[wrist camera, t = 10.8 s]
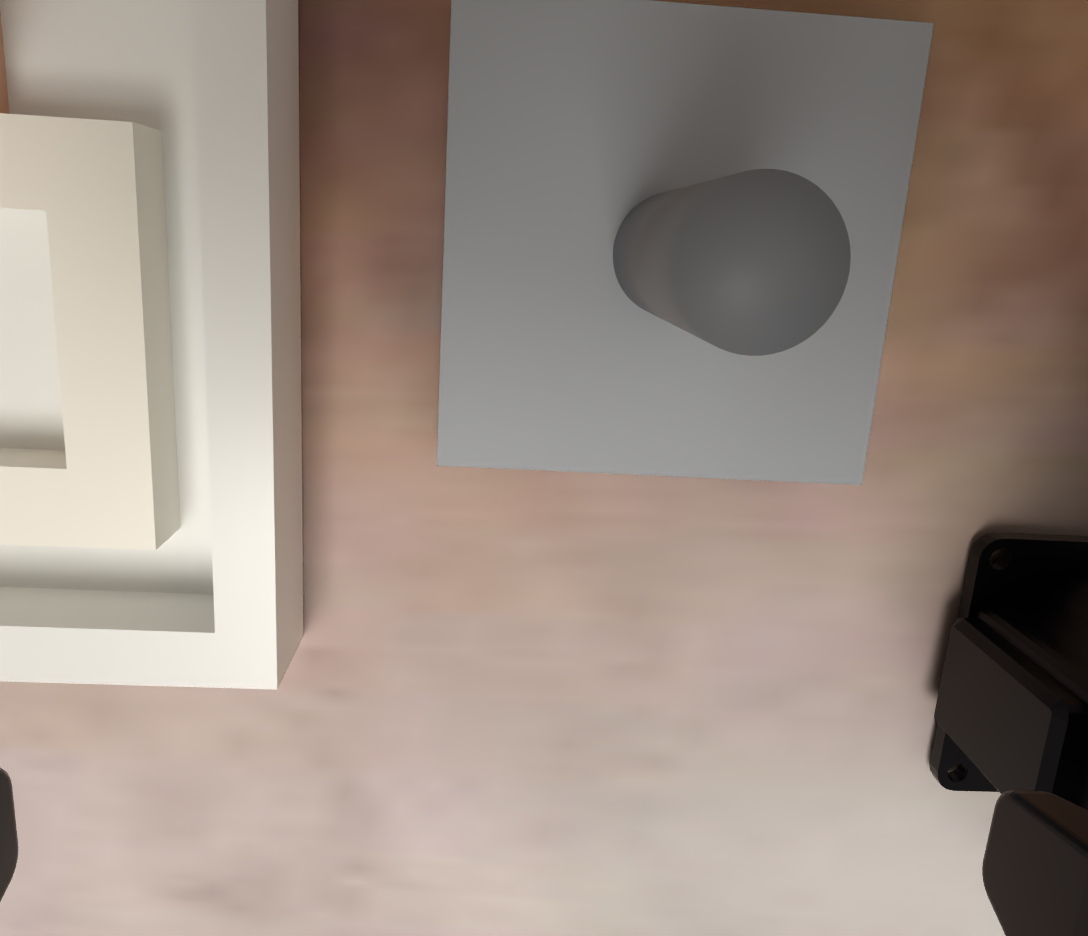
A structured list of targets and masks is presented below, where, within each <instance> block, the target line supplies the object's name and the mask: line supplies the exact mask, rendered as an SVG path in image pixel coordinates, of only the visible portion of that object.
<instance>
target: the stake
mask: <svg viewBox="0 0 1088 936" xmlns="http://www.w3.org/2000/svg"><path fill="white" fill-rule="evenodd" d="M933 27H934V23H927V22H915V21H902V20H890V19H877V18H865V17H852V16H840V15H827V14H815V13H802V12H790V11H778V10H765V9H753V8H740V7H728V6H715V5H703V4H690V3H678V2H665V1H653V0H451V28H450V60H449V92H448V124H447V156H446V189H445V221H444V253H443V285H442V317H441V349H440V381H439V413H438V445H437V466H458V467H480V468H502V469H523V470H545V471H567V472H589V473H611V474H632V475H654V476H676V477H698V478H720V479H741V480H763V481H785V482H807V483H829V484H850V485H862V481H863V474H864V468H865V461H866V455H867V449H868V442H869V436H870V430H871V423H872V417H873V410H874V404H875V398H876V391H877V385H878V378H879V372H880V366H881V359H882V353H883V346H884V340H885V334H886V327H887V321H888V314H889V308H890V302H891V295H892V289H893V282H894V276H895V270H896V263H897V257H898V250H899V244H900V238H901V231H902V225H903V218H904V212H905V206H906V199H907V193H908V187H909V180H910V174H911V167H912V161H913V155H914V148H915V142H916V135H917V129H918V123H919V116H920V110H921V103H922V97H923V91H924V84H925V78H926V71H927V65H928V59H929V52H930V46H931V39H932V33H933Z"/></svg>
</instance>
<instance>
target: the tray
mask: <svg viewBox="0 0 1088 936" xmlns="http://www.w3.org/2000/svg"><path fill="white" fill-rule="evenodd" d="M0 11H1V23H2V34H3V46H4V57H5V68H6V80H7V91H8V102H9V114H20V115H35V116H50V117H65V118H80V119H96V120H111V121H126V122H134V123H137V124H141V125H144V126H147V127H150V128H153V129H157V130H160V131H162V151H163V172H164V193H165V214H166V235H167V256H168V277H169V298H170V319H171V340H172V361H173V382H174V403H175V424H176V445H177V466H178V487H179V508H180V529H179V530H178V531H176V532H175V533H174V534H173V535H172V536H171V537H170V538H169V539H168V540H167V541H166V542H164V543H163V544H162V545H161V546H160V547H159V548H158V549H157V550H134V549H107V548H80V547H52V546H25V545H0V681H9V682H43V683H77V684H111V685H144V686H178V687H212V688H246V689H278V687H279V685H280V683H281V681H282V679H283V677H284V674H285V672H286V670H287V668H288V666H289V664H290V662H291V660H292V658H293V656H294V654H295V652H296V650H297V648H298V646H299V644H300V642H301V640H302V638H303V521H302V401H301V281H300V160H299V40H298V0H0ZM0 448H19V449H42V450H65V441H64V428H63V416H62V403H61V391H60V378H59V366H58V353H57V341H56V328H55V316H54V303H53V291H52V278H51V266H50V253H49V241H48V228H47V216H46V211H42V210H25V209H8V208H0Z"/></svg>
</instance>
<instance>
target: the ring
mask: <svg viewBox="0 0 1088 936" xmlns="http://www.w3.org/2000/svg"><path fill="white" fill-rule="evenodd" d="M0 208H8V209H25V210H42V211H46V216H47V228H48V241H49V253H50V266H51V278H52V291H53V303H54V316H55V328H56V341H57V353H58V366H59V378H60V391H61V403H62V416H63V428H64V441H65V450H42V449H19V448H0V545H25V546H52V547H80V548H107V549H134V550H157V549H158V548H159V547H160V546H161V545H162V544H163V543H164V542H166V541H167V540H168V539H169V538H170V537H171V536H172V535H173V534H174V533H175V532H176V531H178V530H179V529H180V508H179V487H178V466H177V445H176V424H175V403H174V382H173V361H172V340H171V319H170V298H169V277H168V256H167V235H166V214H165V193H164V172H163V151H162V131H160V130H157V129H153V128H150V127H147V126H144V125H141V124H137V123H134V122H126V121H111V120H96V119H80V118H65V117H50V116H35V115H20V114H9V102H8V91H7V80H6V68H5V57H4V46H3V34H2V23H1V11H0Z"/></svg>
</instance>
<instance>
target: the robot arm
mask: <svg viewBox="0 0 1088 936" xmlns="http://www.w3.org/2000/svg"><path fill="white" fill-rule="evenodd" d="M998 549H1002V555H1001V557H1000V559H999V560H998V561H996V562H995V563H991V564H990V557H991V555H992V553H994V552H995V551H996V550H998ZM934 718H935V720H936V722H937V729H936V734H935V739H934V744H933V749H932V755H931V760H930V770H931V772H932V774H933V776H934V777H935V778H936V779H937V781H938V782H939V783H940V784H941V785H942V786H943V787H944V788H946V789H949V790H953V791H990V792H1000V793H1001V794H1002V795H1000V797H999V798H998V800H997V802H996V805H995V809H994V813H993V818H992V823H991V827H990V832H989V837H988V841H987V846H986V850H985V855H984V860H983V867H982V869H983V882H984V886H985V890H986V893H987V895H988V898H989V900H990V902H991V904H992V907H993V909H994V911H995V913H996V915H997V918H998V920H999V922H1000V924H1001V926H1002V929H1003V931H1004V933H1005V935H1006V936H1088V537H1083V536H1060V535H1036V534H1013V533H990V534H986V535H984V536H982V537H980V538H979V539H978V540H977V541H976V542H975V543H974V545H973V547H972V549H971V552H970V557H969V562H968V567H967V572H966V578H965V583H964V588H963V593H962V598H961V604H960V609H959V614H958V619H957V621H956V622H955V623H954V624H953V626H952V627H951V630H950V636H949V641H948V646H947V651H946V657H945V662H944V667H943V672H942V678H941V683H940V688H939V693H938V699H937V704H936V709H935V714H934ZM958 763H960V764H959V766H958V768H957V769H955V770H954V771H952V772H948V770H949V768H950V767H951V766H953V765H954V764H958ZM17 858H18V839H17V830H16V820H15V811H14V801H13V791H12V784H11V780H10V777H9V775H8V773H7V772H6V771H4V770H3V769H2V768H0V902H1V899H2V897H3V895H4V893H5V891H6V889H7V887H8V885H9V883H10V881H11V879H12V876H13V874H14V871H15V868H16V863H17Z"/></svg>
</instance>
